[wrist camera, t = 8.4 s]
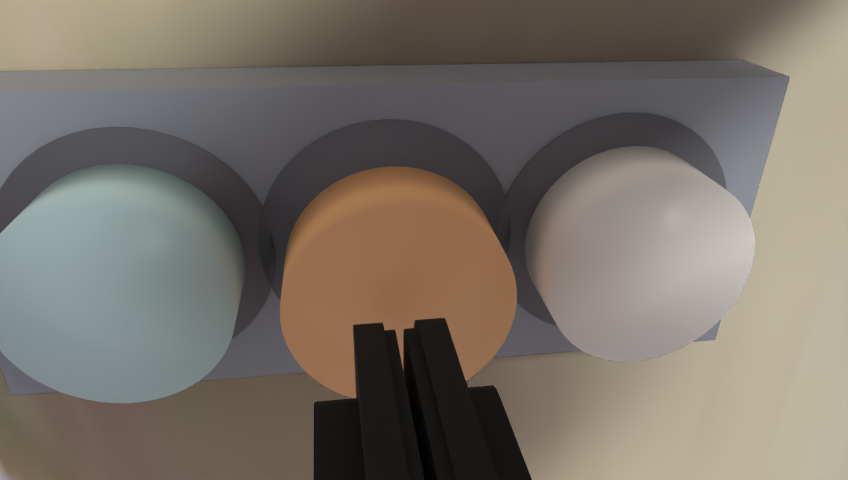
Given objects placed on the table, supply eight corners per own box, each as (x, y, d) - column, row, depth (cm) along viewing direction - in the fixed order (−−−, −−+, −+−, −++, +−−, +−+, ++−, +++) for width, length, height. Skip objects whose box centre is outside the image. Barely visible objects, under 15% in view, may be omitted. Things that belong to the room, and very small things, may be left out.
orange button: (501, 162, 14) (527, 198, 12) (488, 342, 16) (507, 393, 15) (274, 170, 13) (267, 209, 12) (294, 356, 16) (290, 413, 14)
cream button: (728, 142, 16) (780, 172, 14) (686, 310, 18) (726, 353, 16) (534, 149, 15) (563, 180, 13) (517, 322, 17) (539, 369, 15)
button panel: (742, 59, 17) (793, 77, 15) (682, 304, 21) (716, 342, 19) (-52, 72, 15) (-107, 95, 13) (41, 349, 18) (9, 398, 16)
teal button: (231, 159, 14) (218, 195, 12) (255, 341, 16) (247, 393, 15) (-11, 168, 13) (-62, 207, 12) (50, 356, 16) (16, 412, 14)
